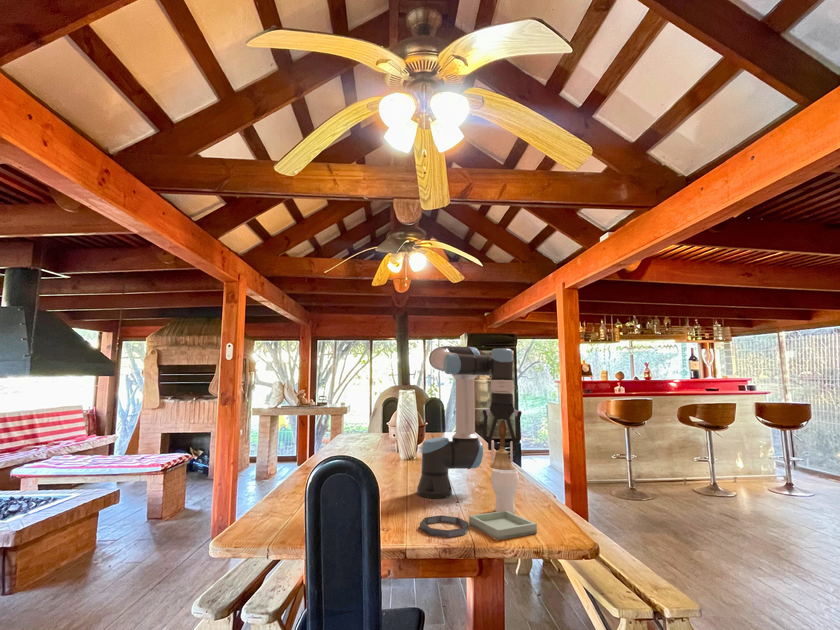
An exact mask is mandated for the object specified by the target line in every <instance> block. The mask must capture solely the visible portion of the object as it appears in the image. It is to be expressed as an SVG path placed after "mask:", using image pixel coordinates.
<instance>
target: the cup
mask: <svg viewBox="0 0 840 630" xmlns="http://www.w3.org/2000/svg"><path fill="white" fill-rule="evenodd" d="M490 480H491V481H490V482H491V486H492V489H493V492H494V494H495V504H494V505H495V506H494V512H498V511H505V510H506V511H508V512H511V513H513V514H516V506H515V497H516V493H517V492H518V489H519V485H520V477H519V472H518V470H516V469H515V468H514V469H513V470H499V469H493V468H492V471H491V475H490Z"/></svg>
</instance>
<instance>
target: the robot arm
mask: <svg viewBox="0 0 840 630" xmlns="http://www.w3.org/2000/svg"><path fill="white" fill-rule="evenodd" d="M428 361H429V365H430V366H431V367H432V368H433V369H435V370H438V371H442V372H444V373H445V374H446V375H452V377H453V378H454V379H455V433H454V435H452V437H451V439H452V440H449V438H448V437H433V438H429V439H426V440H424V441H423V442H422V446H421V475H420V479H419V482H418V485H417V487H416V488H417V489H416V494H417V495H418V496H419V497H422V498H427V499H444V498H445V499H446V498H449V496H450V497H451V496H452V495H453V494H452V493H453V491H452V490H453V489H452V485H451V482H450V478H449V470H450V469H451V470H456V469H457V470H459V469H460V470H461V469H464V470H465V469H467V470H472V469H477V468H479V467H480V465H481V464H482V462H483V456H484V448H483V447H484V445H483V443H482V441H480V440H479V436H478V435H477V434H476V425H475V423H476V422H475V420H476V419H475V417H476V416H475V415H476V413H475V408H476V407H475V379H476V378H477V377H478V376H488V377H489V376H490V381H491V386H490V389H491V390H490V391H491V392H492V393H491V394H490V396H491V397H490V402H491V403H490V406H489V408H486V409H483V410H482V414H483V430H482V438H483V439H484V440H487V449H488V451H490V452H491V455H490V457H491V458H490V459H491V461H492V462H493V461H494V459H495V441H494V440H493V436H494V433H495V429H496V426H497V423H498V420H500V421H501V420H504V421H505V422H506V423H507V426H508V427H507V428H508V430H509V434H510V438H511V441H510V443H509V445H510V446H509V449H510V452H509V458H510V462H511V463H513V462H514V461H513V460H514V459H513V458H514V457H513V455H514V453H513V452H516V451H517V442H519V441H522V429H521V416H522V413H523V412H522V410H517V409H515V407H514V394H513V393H512V392H514V380H513V377H514V373H513V372H514V364H513V363H514V357H513V350H512V349H511V348H498V347H497V348H492V350H491V355H489V354H488V355H487V354H486V355H485V354H481V352H480V351H479V349H478V348H476V347H473V346H452V345H451V346H449V345H443V346H438V347H436V348H434V349H432V351H431V352H430V353H429V358H428ZM490 413H491V415H493V417H494V418H493V422H492V425H491V428H490V431H489V434H488V421H489V418H488V417H489V415H490ZM513 414H514V416H515V417H516V428H517V429H516V430H517V436H516V435H515V431H514V427H513V425H512V421H511V416H512V415H513Z"/></svg>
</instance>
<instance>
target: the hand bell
mask: <svg viewBox="0 0 840 630" xmlns="http://www.w3.org/2000/svg"><path fill="white" fill-rule="evenodd" d="M498 434H499V437H500V438H499V440H500V441H499V444H500V445H499V449H498V450H495V453H494V461H492V462H491V464H490V465H489V468H491V469H492V470H493V469H499V470H513V469H514V470H515V466H514V465H513V464H512V462H510V452H509V451H508V450H506V448H505V447H506V443H505V442H506V441H505V440H506V436H507V425H506V420H503V419H500V423H499V426H498Z"/></svg>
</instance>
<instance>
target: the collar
mask: <svg viewBox="0 0 840 630" xmlns="http://www.w3.org/2000/svg"><path fill="white" fill-rule="evenodd" d="M434 523H447V524H455V525H458V526H460V527H459V528H454V529H449V530H448V529H442V528H441V529H439V528H433V527H430V526H429V525H430V524H434ZM469 528H470V525H469V521H466V520H464V519H463V518H460V517H458V516H457V517H456V516H449V515H434V516H427V517H424V518H423V519H422V520H421V521H420V523H419V530H421V531H422V532H424V533H425V534H426V535H428V536H432V537H433V536H434V537H441V538H454V537H460V536H465V535H466V534H467V532H468V531H469Z"/></svg>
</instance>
